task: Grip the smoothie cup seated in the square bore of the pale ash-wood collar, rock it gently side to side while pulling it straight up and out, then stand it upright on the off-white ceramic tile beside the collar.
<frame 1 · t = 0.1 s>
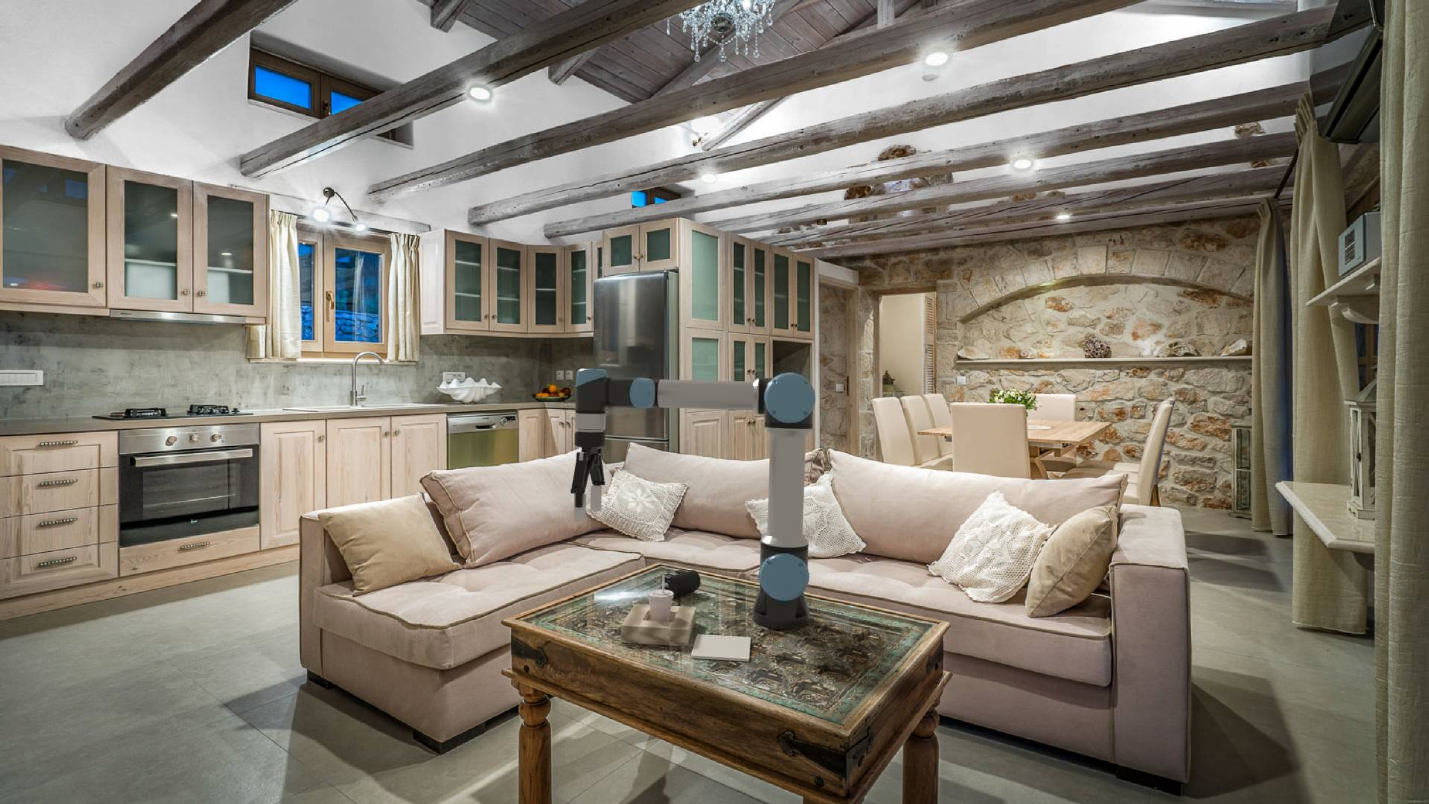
hand: (588, 515, 163), 28 cm above the table, fingers open, 13 cm apart
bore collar: (659, 632, 161), on the table
end cap: (680, 596, 191), on the table
tile: (721, 648, 152), on the table
smoothie: (659, 632, 161), resting in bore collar
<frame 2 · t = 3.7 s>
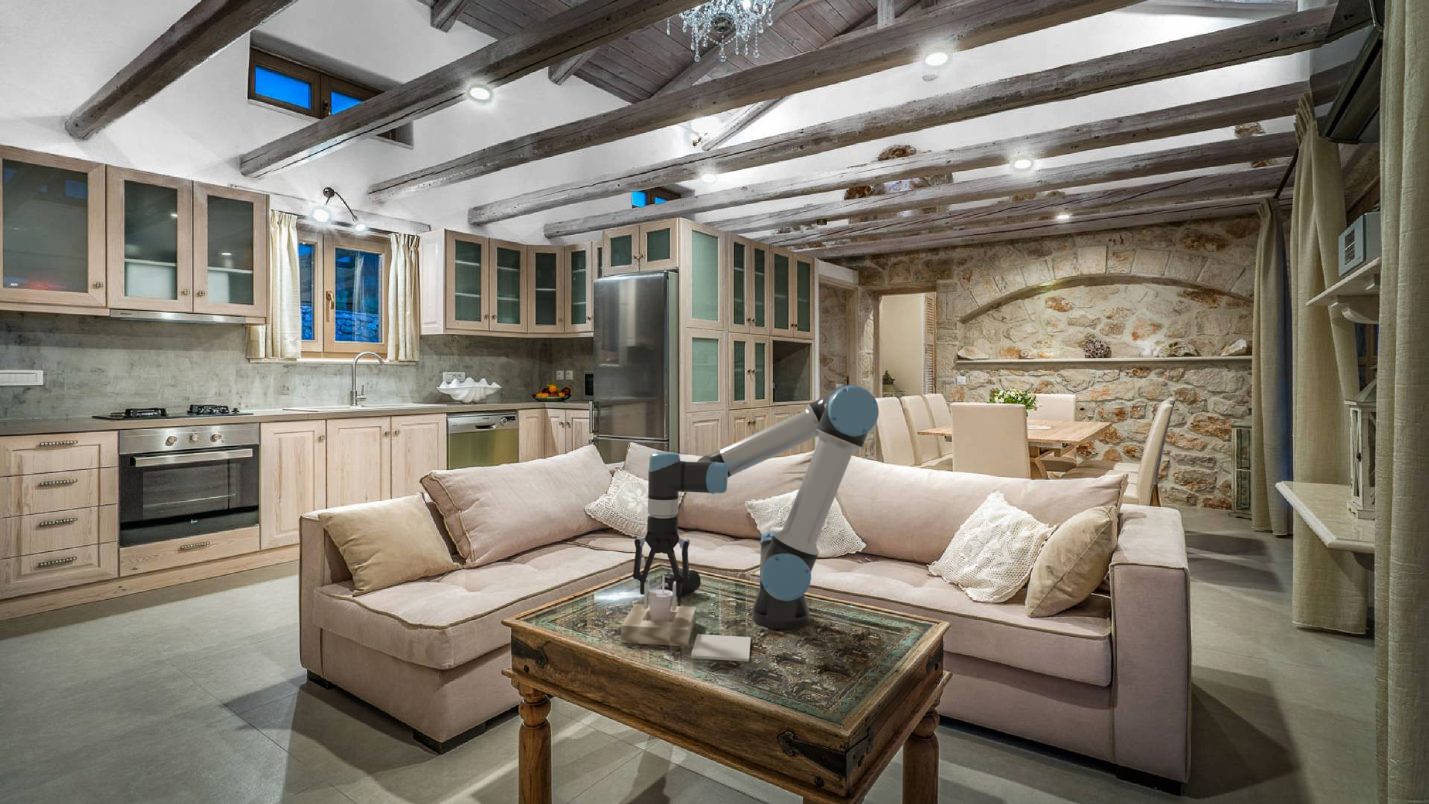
hand: (660, 608, 161), 6 cm above the table, fingers closed on smoothie, 6 cm apart
smoothie: (659, 632, 161), resting in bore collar, touching gripper
everything else where it was.
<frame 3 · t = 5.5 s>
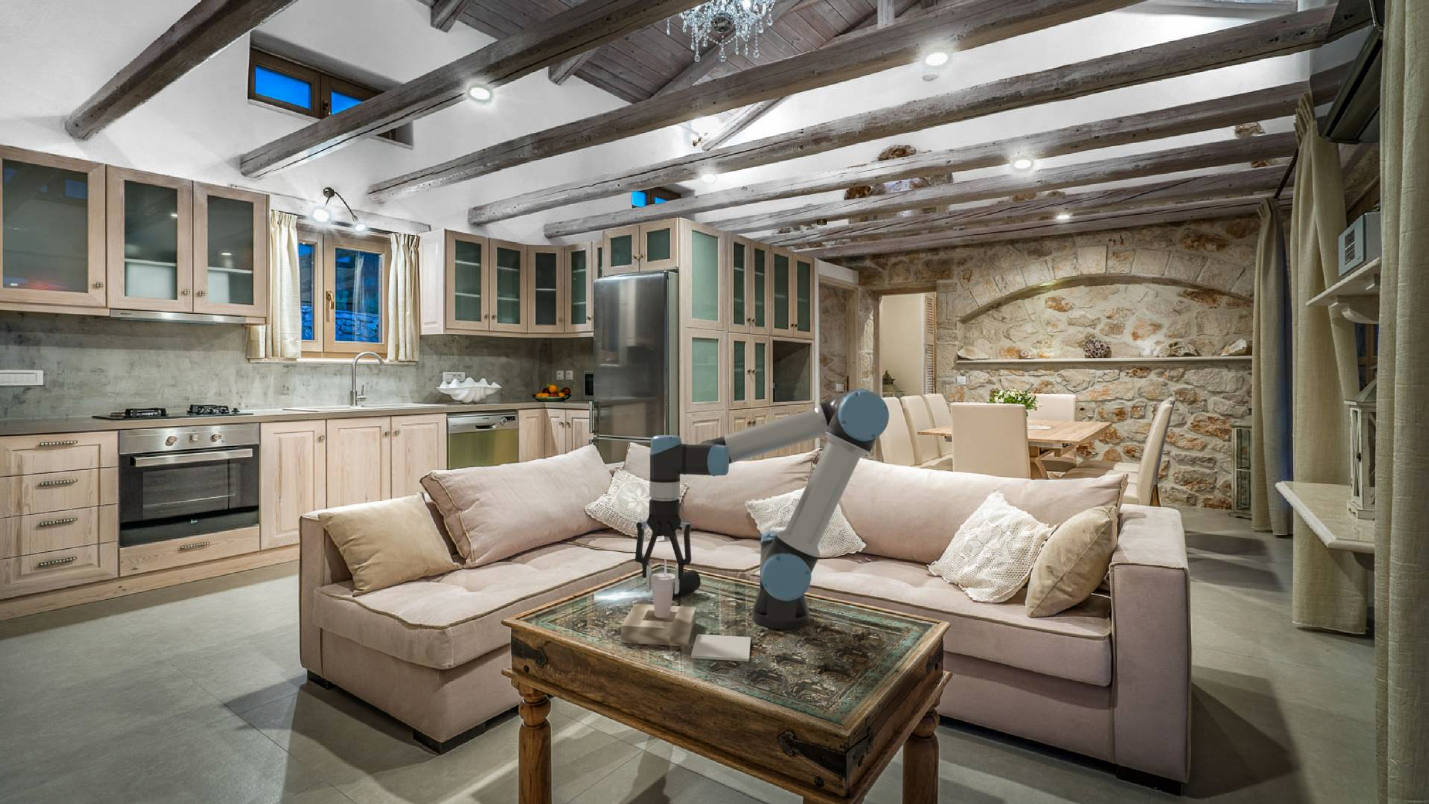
hand: (662, 591, 161), 10 cm above the table, fingers closed on smoothie, 6 cm apart
smoothie: (662, 616, 161), point 4 cm above the table, touching gripper
everything else where it was.
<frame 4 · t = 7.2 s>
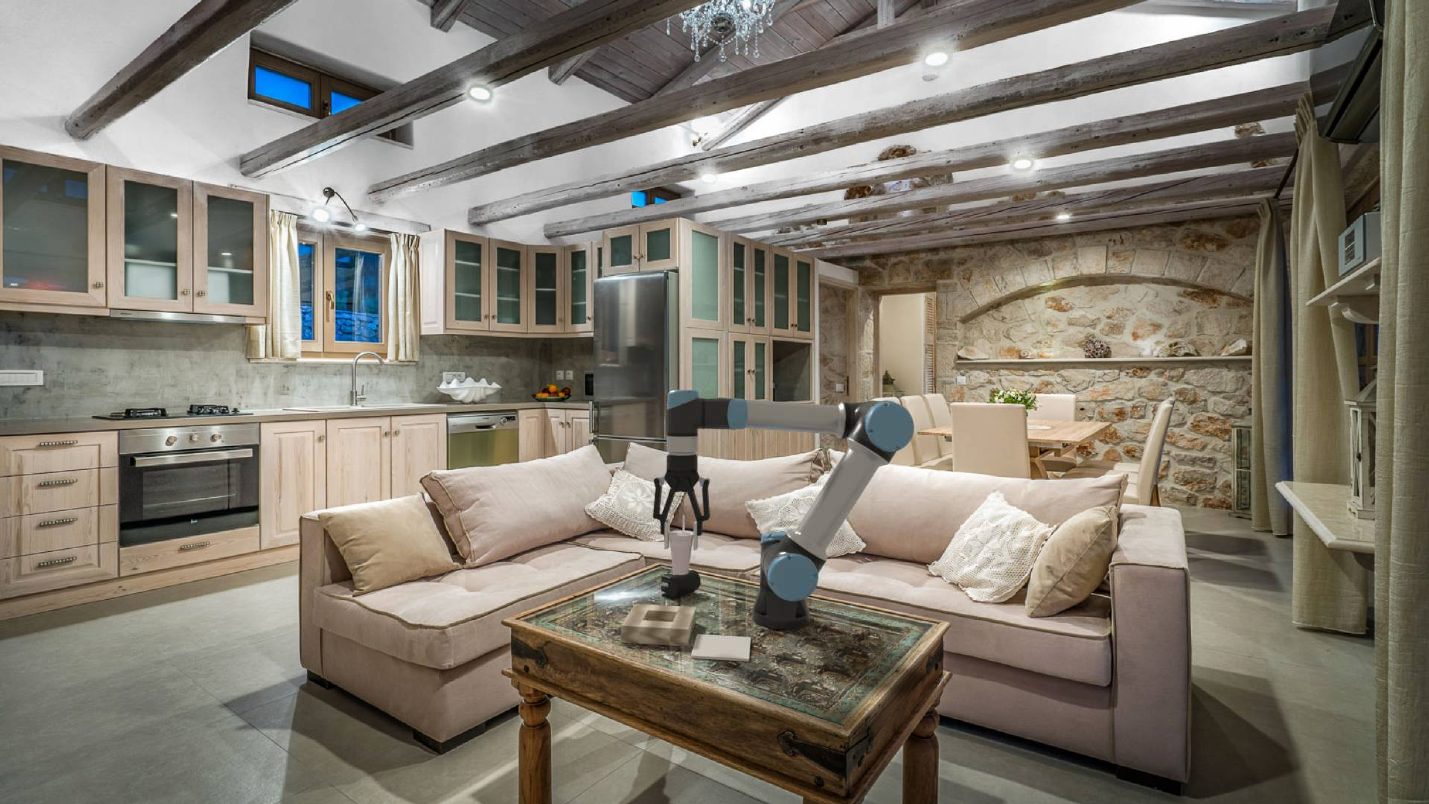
hand: (681, 548, 158), 22 cm above the table, fingers closed on smoothie, 6 cm apart
smoothie: (680, 573, 158), point 15 cm above the table, touching gripper
everything else where it was.
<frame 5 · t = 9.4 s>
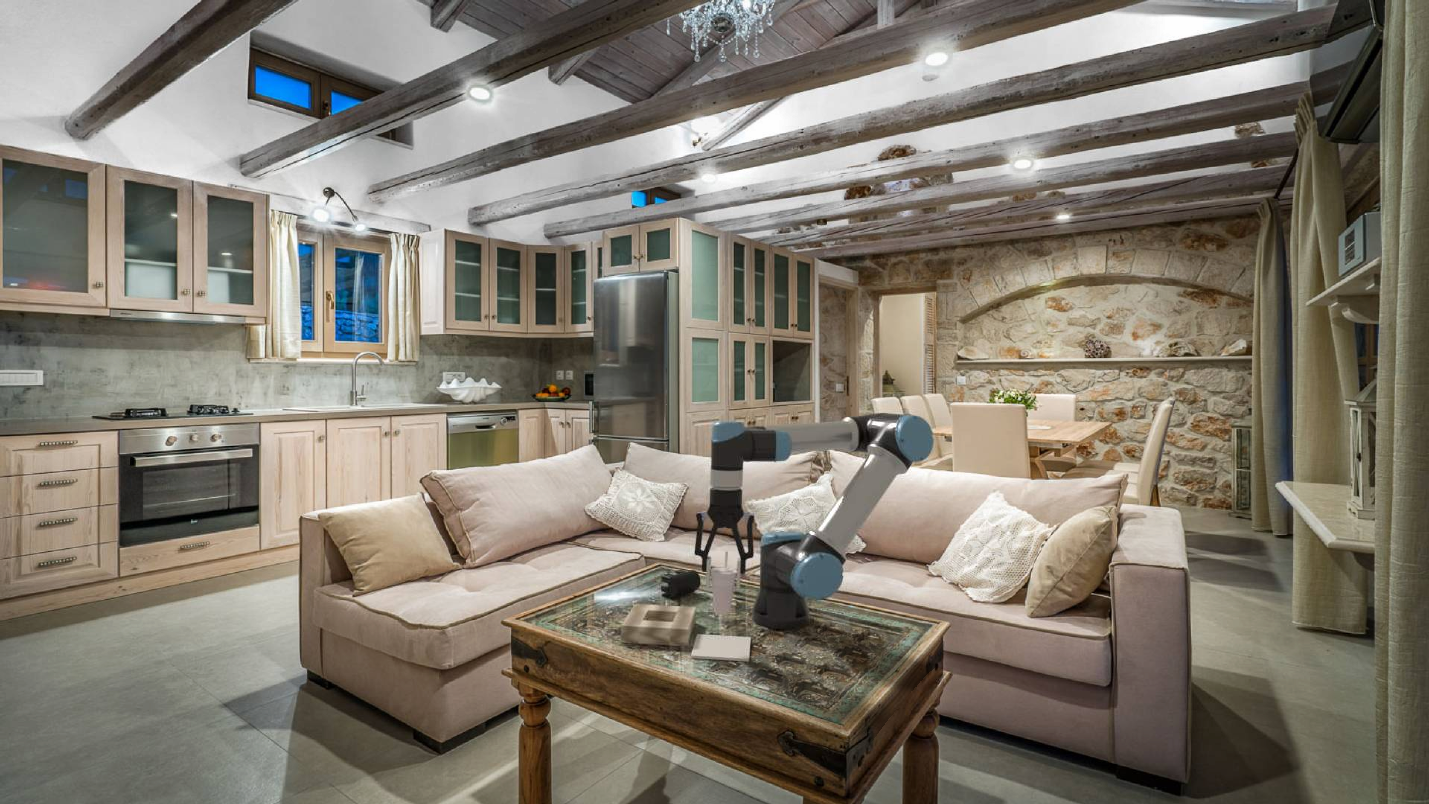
hand: (723, 586, 152), 15 cm above the table, fingers closed on smoothie, 6 cm apart
smoothie: (722, 612, 152), point 8 cm above the table, touching gripper
everything else where it was.
when the fingers open (8 cm above the table, at t = 11.0 s): smoothie drops 1 cm, resting on tile.
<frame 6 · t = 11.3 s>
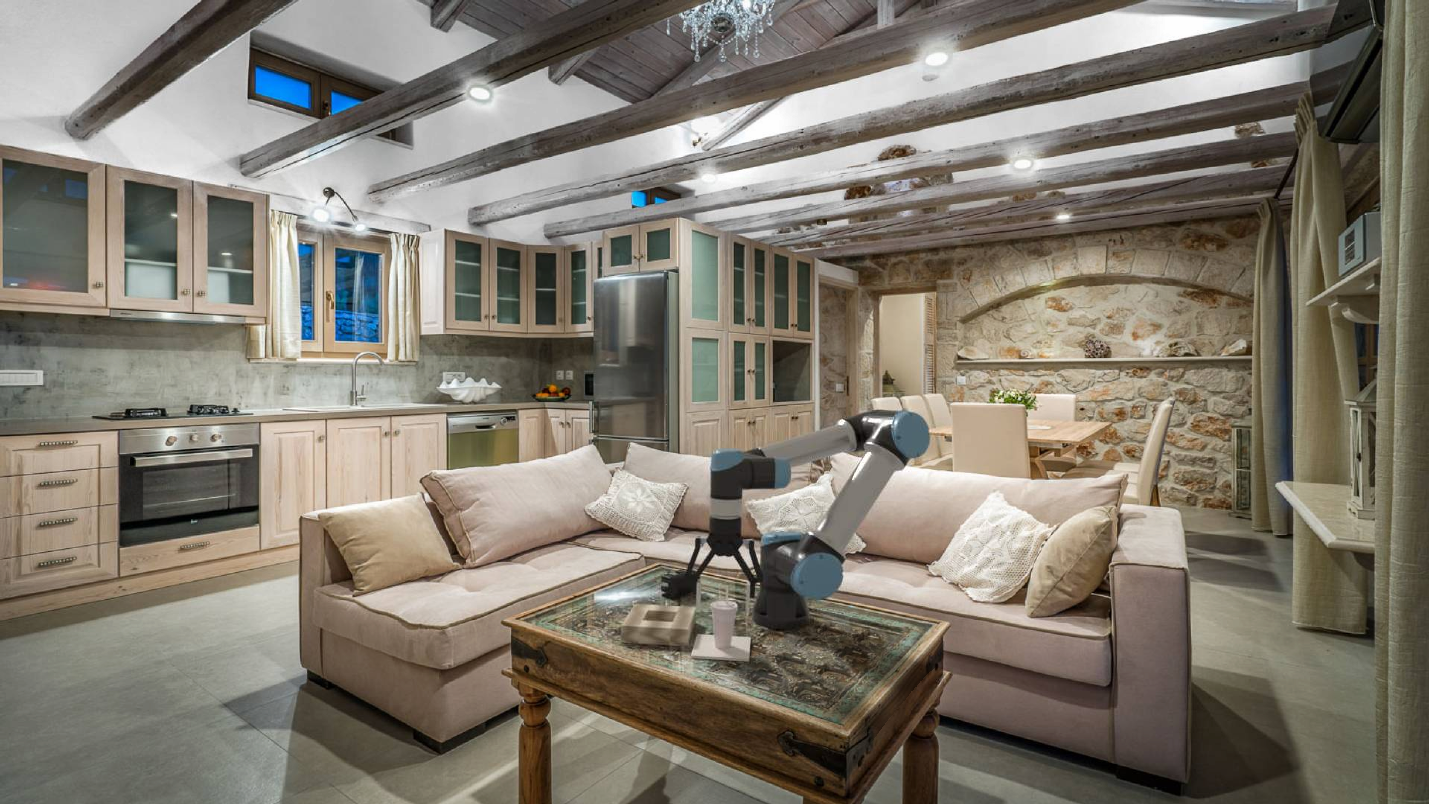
hand: (722, 610, 152), 9 cm above the table, fingers open, 11 cm apart
smoothie: (722, 646, 152), resting on tile
everything else where it was.
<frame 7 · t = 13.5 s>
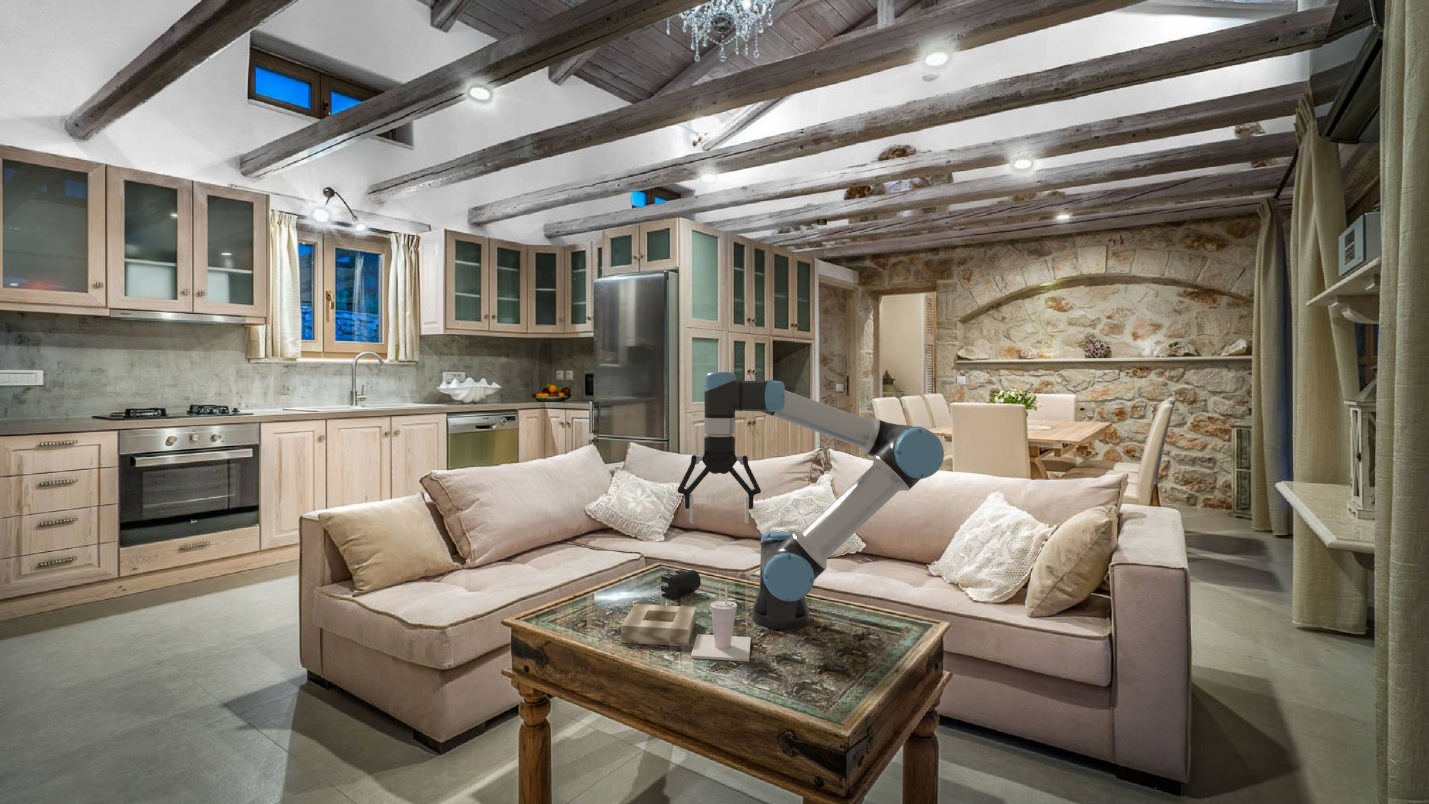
hand: (718, 522, 159), 28 cm above the table, fingers open, 13 cm apart
nothing on the table moved.
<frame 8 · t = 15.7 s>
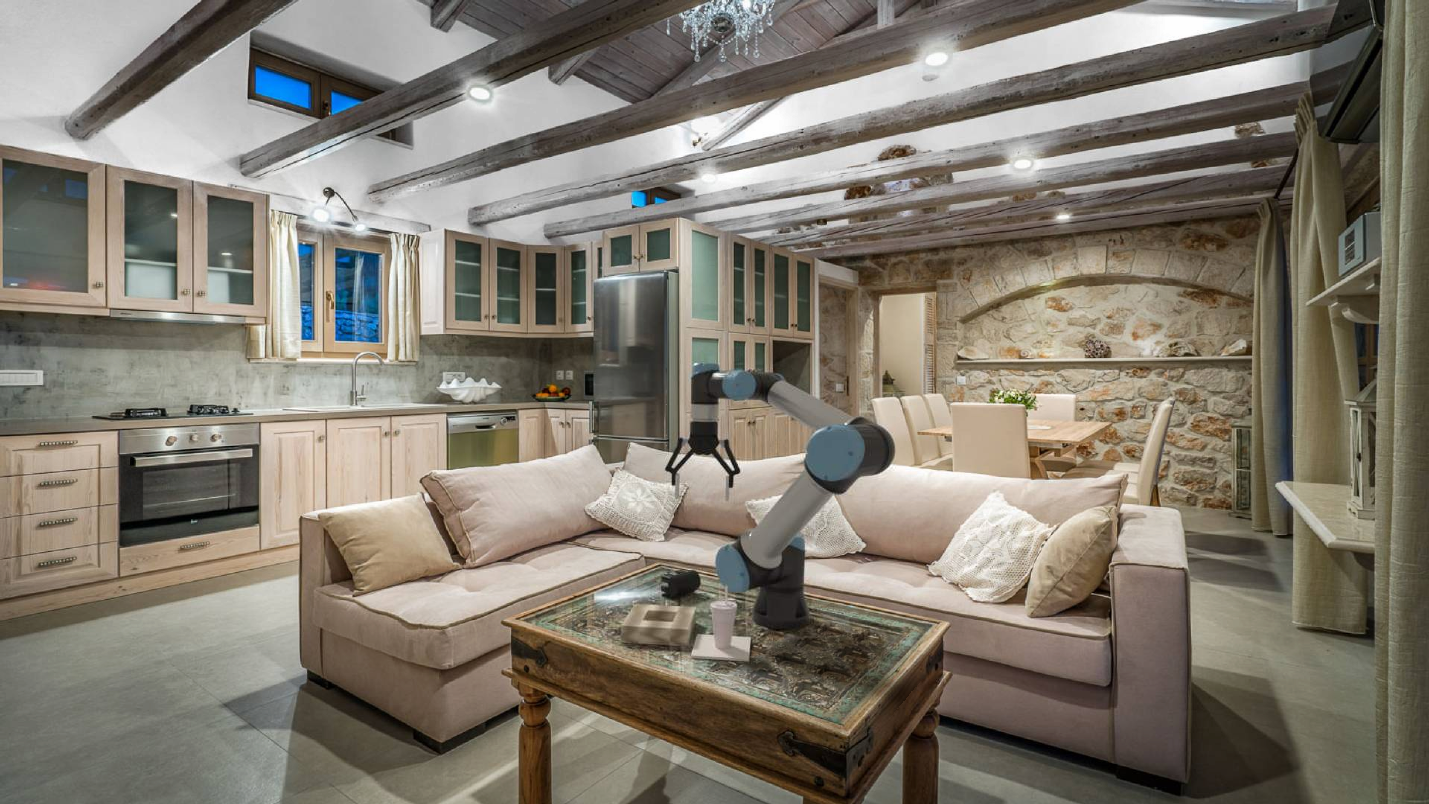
hand: (702, 499, 176), 31 cm above the table, fingers open, 13 cm apart
nothing on the table moved.
at the end: smoothie inside the target area on the tile (0.2 cm from its centre), point 0.4 cm above the tile's base; smoothie tilted 0°; the gripper is holding nothing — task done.
